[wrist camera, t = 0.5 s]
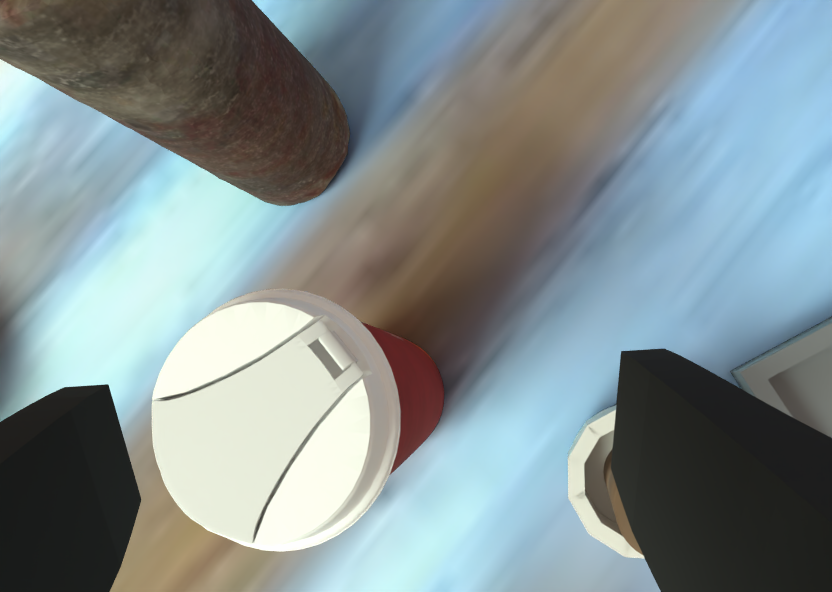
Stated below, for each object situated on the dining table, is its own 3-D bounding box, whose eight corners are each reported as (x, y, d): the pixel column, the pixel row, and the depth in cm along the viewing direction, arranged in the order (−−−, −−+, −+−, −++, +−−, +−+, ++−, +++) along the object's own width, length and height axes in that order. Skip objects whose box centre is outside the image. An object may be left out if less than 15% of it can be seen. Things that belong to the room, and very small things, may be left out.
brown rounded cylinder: (208, 127, 38) (-169, -116, 18) (309, 49, 37) (22, -293, 17) (272, 233, 36) (-66, 89, 17) (379, 155, 35) (150, -91, 16)
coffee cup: (397, 283, 34) (273, 228, 20) (500, 405, 33) (447, 442, 18) (283, 386, 35) (84, 405, 21) (377, 510, 34) (231, 626, 19)
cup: (739, 501, 30) (756, 516, 27) (613, 564, 31) (618, 584, 28) (661, 378, 31) (670, 380, 28) (543, 442, 32) (541, 450, 29)
